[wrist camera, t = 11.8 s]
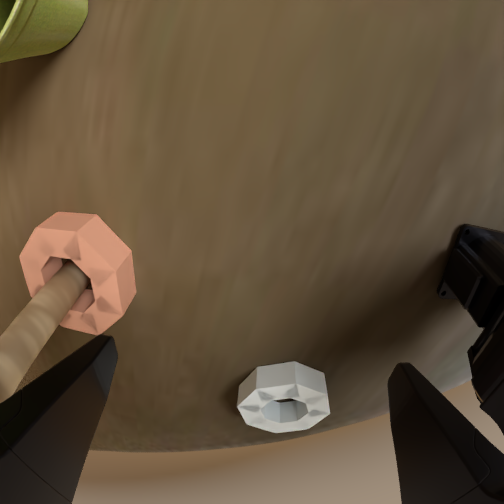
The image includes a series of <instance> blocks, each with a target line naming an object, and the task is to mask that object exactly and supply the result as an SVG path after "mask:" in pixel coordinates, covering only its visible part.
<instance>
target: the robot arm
mask: <svg viewBox="0 0 504 504" xmlns="http://www.w3.org/2000/svg"><path fill="white" fill-rule="evenodd" d="M466 230H467V232H466V233H465V231H466ZM443 291H444V292H443ZM442 292H443V293H442ZM437 295H438V296H439V297H440V298H444V299H458V301H459V302H460V303H461V305H462V306H463V308H464V309H467V311H468V312H469V314H470V315H471V317H472V318H473V320H474V321H475V323H476V324H477V326H478V327H482V328H483V329H484V330H483V331H482V333H481V334H480V336H479V337H478V339H477V340H476V342H475V343H474V345H473V346H471V347H470V348H469V350H468V351H467V353H468V358H469V363H470V368H471V373H472V379H471V381H472V385H473V388H474V390H475V394H476V396H477V399H478V400H479V401H480V403H481V405H480V408H481V409H482V410H483V411H485V412H486V413H487V414H488V415H489V416H490V417H491V418H492V419H493V420H494V421H495V422H496V423H497V424H498V426H499V428H500V429H501V431H502V433H503V435H504V232H501V231H497V230H493V229H488V228H484V227H479V226H475V225H470V224H464V225H463V226H462V227H461V228H460V231H459V234H458V237H457V240H456V243H455V246H454V249H453V251H452V254H451V257H450V260H449V262H448V265H447V267H446V270H445V273H444V275H443V278H442V280H441V282H440V285H439V287H438V290H437ZM117 359H118V353H117V350H116V346H115V342H114V339H113V337H112V336H111V335H106V334H99V335H98V336H96V337H95V338H93V339H92V340H90V341H89V342H87V343H86V344H85V345H83V346H82V347H80V348H79V349H77V350H76V351H74V352H73V353H72V354H70V355H69V356H67V357H66V358H64V359H63V360H62V361H60V362H59V363H57V364H56V365H54V366H53V367H52V368H50V369H49V370H47V371H46V372H44V373H43V374H42V375H40V376H39V377H37V378H36V379H35V380H33V381H32V382H30V383H29V384H28V385H26V386H25V387H23V388H22V389H20V390H19V391H18V392H16V393H15V394H13V395H12V396H10V397H9V398H7V399H6V400H5V401H3V402H1V403H0V504H72V503H71V502H72V501H73V498H74V494H75V491H76V487H77V484H78V481H79V478H80V475H81V472H82V468H83V466H84V463H85V459H86V457H87V454H88V451H89V448H90V445H91V442H92V439H93V436H94V433H95V431H96V428H97V425H98V422H99V420H100V417H101V414H102V412H103V409H104V406H105V403H106V401H107V397H108V394H109V390H110V386H111V382H112V378H113V374H114V371H115V367H116V363H117ZM388 396H389V409H390V422H391V430H392V436H393V441H394V448H395V454H396V461H397V468H398V475H399V482H400V491H401V501H402V504H504V454H503V453H502V452H501V451H499V450H498V449H497V448H496V447H495V446H494V445H493V444H491V443H490V442H489V441H488V440H487V439H486V438H485V437H484V436H483V435H482V434H481V433H480V432H479V431H478V430H477V429H476V428H475V427H474V426H473V425H472V424H471V423H470V422H469V421H468V420H467V419H466V418H465V417H464V416H463V415H462V414H461V413H460V412H459V411H458V410H457V409H456V408H455V407H454V406H453V405H452V404H451V403H450V402H449V401H448V400H447V399H446V398H445V397H444V396H443V395H442V394H441V393H440V392H439V391H438V390H437V389H436V388H435V387H434V386H433V385H432V384H431V383H430V382H429V381H428V380H427V379H426V378H425V377H424V376H423V375H422V374H421V373H420V372H419V371H418V370H417V369H416V368H415V367H414V366H413V365H412V364H410V363H398V364H397V365H396V367H395V368H394V370H393V372H392V374H391V376H390V377H389V379H388Z"/></svg>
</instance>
